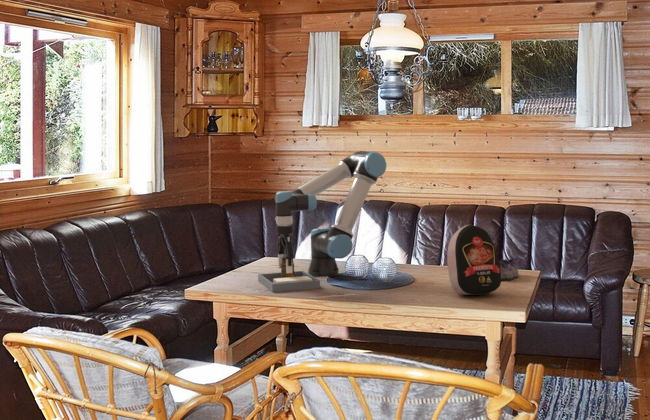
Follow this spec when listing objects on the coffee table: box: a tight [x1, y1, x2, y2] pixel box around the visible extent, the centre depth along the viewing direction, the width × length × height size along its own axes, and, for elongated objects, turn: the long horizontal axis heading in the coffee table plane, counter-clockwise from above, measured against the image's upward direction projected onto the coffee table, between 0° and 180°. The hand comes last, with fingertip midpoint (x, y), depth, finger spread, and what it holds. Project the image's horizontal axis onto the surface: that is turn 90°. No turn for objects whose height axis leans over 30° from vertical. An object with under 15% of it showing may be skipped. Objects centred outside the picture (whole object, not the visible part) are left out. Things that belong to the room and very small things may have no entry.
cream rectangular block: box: [273, 276, 312, 284], centre depth 395 cm, size 16×8×4 cm, turn 108°
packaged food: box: [446, 224, 502, 296], centre depth 379 cm, size 22×20×30 cm
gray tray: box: [257, 270, 321, 293], centre depth 402 cm, size 22×26×4 cm
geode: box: [499, 257, 519, 281], centre depth 416 cm, size 20×12×10 cm, turn 151°
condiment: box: [280, 256, 295, 278], centre depth 406 cm, size 7×8×12 cm
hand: (285, 270), depth 406 cm, fingers open, 13 cm apart
